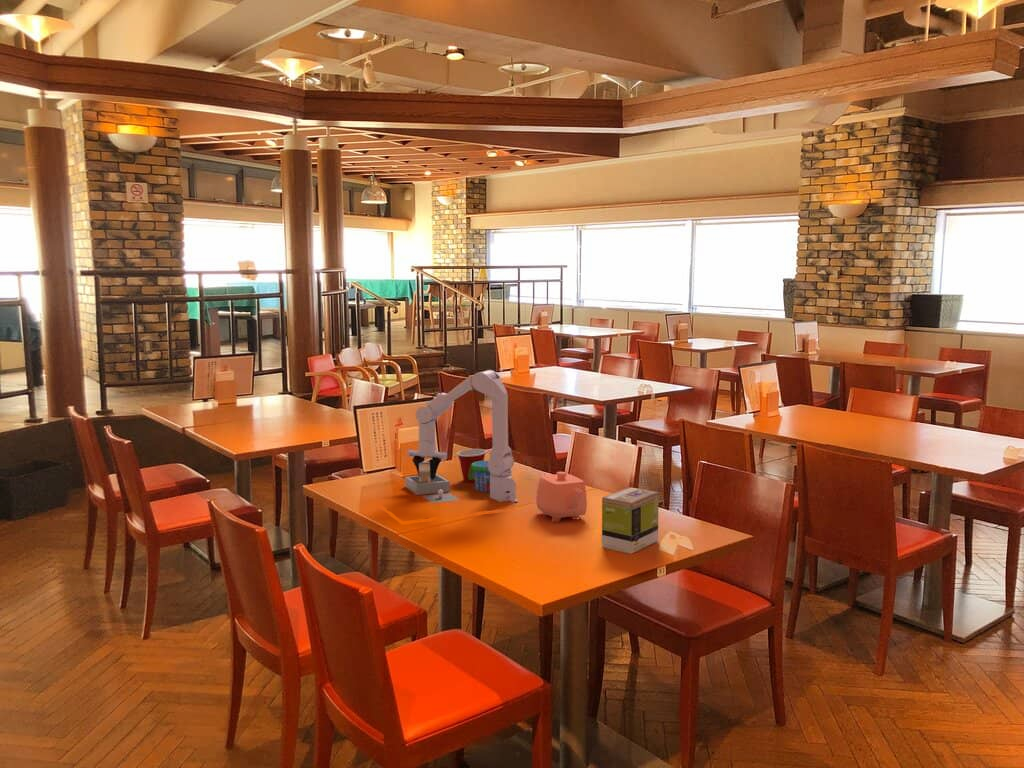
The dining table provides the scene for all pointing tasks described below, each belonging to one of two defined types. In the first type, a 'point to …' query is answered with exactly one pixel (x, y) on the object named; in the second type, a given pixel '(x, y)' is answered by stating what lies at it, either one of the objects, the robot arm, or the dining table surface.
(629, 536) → the tea box
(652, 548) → the dining table surface
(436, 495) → the stud block
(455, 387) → the robot arm
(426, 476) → the strut
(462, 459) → the plastic cup
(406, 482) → the bin
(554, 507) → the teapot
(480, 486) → the snack cup
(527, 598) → the dining table surface
